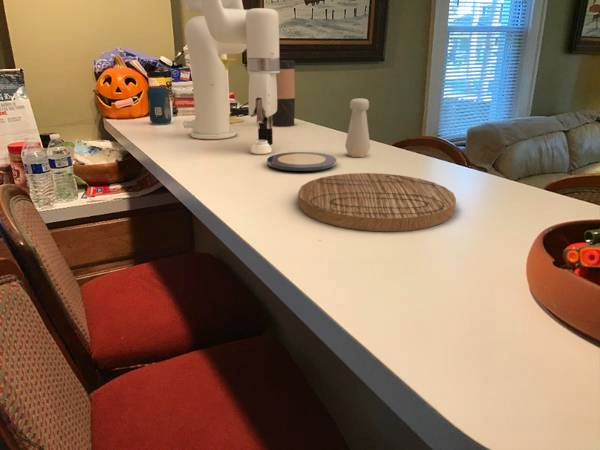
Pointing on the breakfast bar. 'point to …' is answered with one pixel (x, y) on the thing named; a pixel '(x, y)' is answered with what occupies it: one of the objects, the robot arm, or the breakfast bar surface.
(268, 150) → the white jar
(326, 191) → the trivet
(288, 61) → the travel mug
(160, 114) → the soda can
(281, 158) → the plate
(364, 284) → the breakfast bar surface
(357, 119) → the salt shaker
